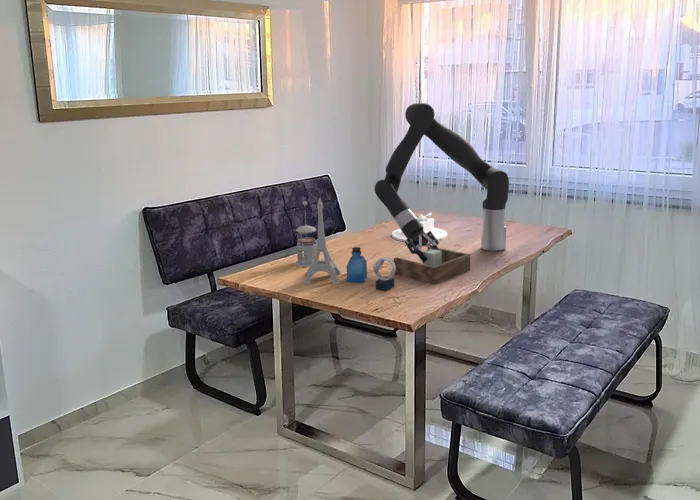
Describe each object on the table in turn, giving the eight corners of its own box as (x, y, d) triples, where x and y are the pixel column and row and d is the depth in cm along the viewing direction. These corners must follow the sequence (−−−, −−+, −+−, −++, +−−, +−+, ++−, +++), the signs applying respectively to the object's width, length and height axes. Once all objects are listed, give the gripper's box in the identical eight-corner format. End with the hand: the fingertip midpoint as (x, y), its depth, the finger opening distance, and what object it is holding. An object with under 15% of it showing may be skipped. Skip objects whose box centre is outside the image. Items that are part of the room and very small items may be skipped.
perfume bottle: (363, 283, 242) (363, 250, 239) (347, 282, 244) (346, 250, 240) (366, 277, 248) (366, 246, 245) (350, 277, 249) (349, 245, 246)
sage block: (441, 271, 253) (441, 251, 251) (433, 274, 250) (433, 254, 247) (430, 269, 256) (430, 248, 254) (422, 272, 253) (422, 251, 251)
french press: (301, 268, 261) (298, 205, 254) (289, 260, 271) (286, 199, 264) (323, 264, 266) (321, 202, 259) (311, 257, 275) (309, 197, 269)
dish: (455, 233, 308) (456, 208, 305) (432, 246, 288) (432, 220, 285) (408, 227, 321) (408, 203, 318) (381, 239, 301) (381, 214, 298)
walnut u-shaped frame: (470, 269, 254) (470, 254, 252) (434, 284, 239) (434, 268, 237) (429, 260, 267) (429, 245, 265) (393, 273, 252) (393, 258, 250)
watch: (378, 284, 241) (378, 254, 238) (398, 287, 237) (398, 257, 234) (370, 288, 236) (370, 258, 233) (391, 292, 232) (391, 261, 229)
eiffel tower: (306, 273, 256) (302, 195, 247) (341, 272, 255) (339, 194, 247) (302, 284, 243) (299, 202, 235) (339, 284, 242) (337, 202, 234)
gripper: (402, 221, 248) (426, 257, 244) (426, 214, 258) (450, 248, 254) (391, 233, 253) (415, 268, 249) (415, 226, 263) (438, 259, 259)
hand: (432, 258), depth 251 cm, fingers open, 8 cm apart
